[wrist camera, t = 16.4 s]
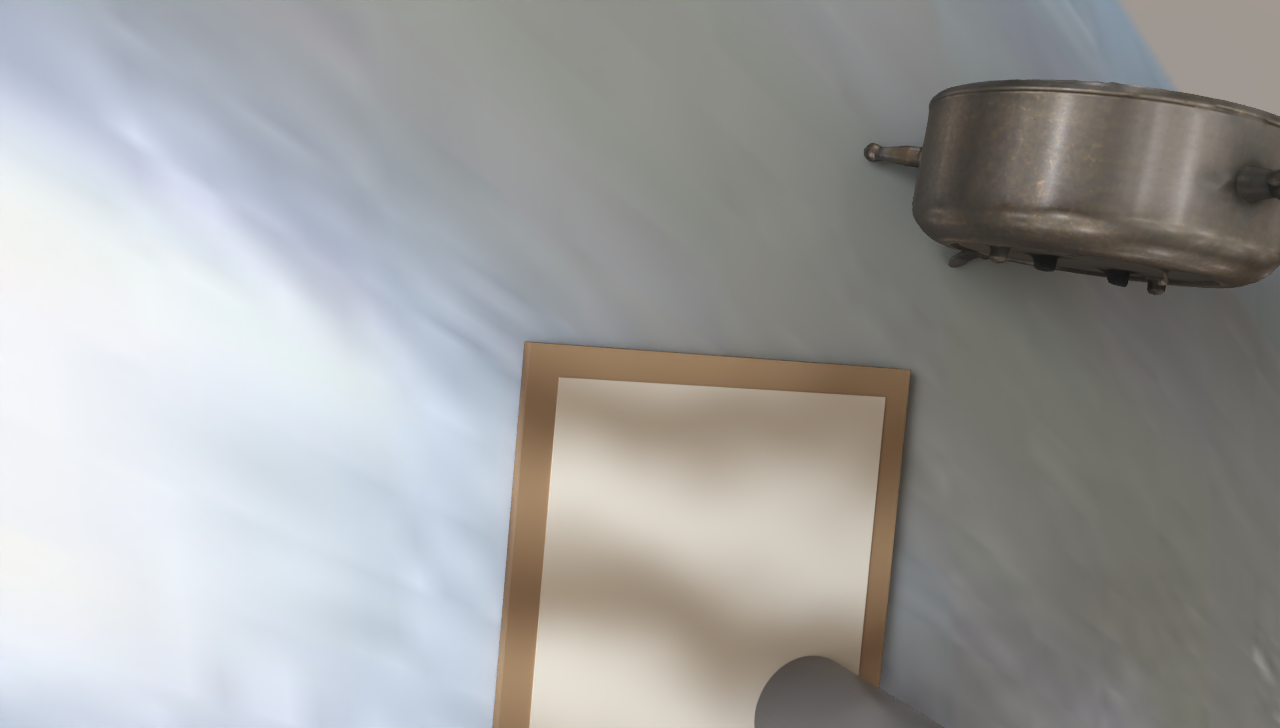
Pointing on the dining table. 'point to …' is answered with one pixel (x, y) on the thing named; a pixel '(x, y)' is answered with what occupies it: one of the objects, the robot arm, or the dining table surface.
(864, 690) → the marker
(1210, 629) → the dining table surface
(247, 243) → the dining table surface
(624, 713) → the wooden picture frame
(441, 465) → the dining table surface
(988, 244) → the alarm clock
